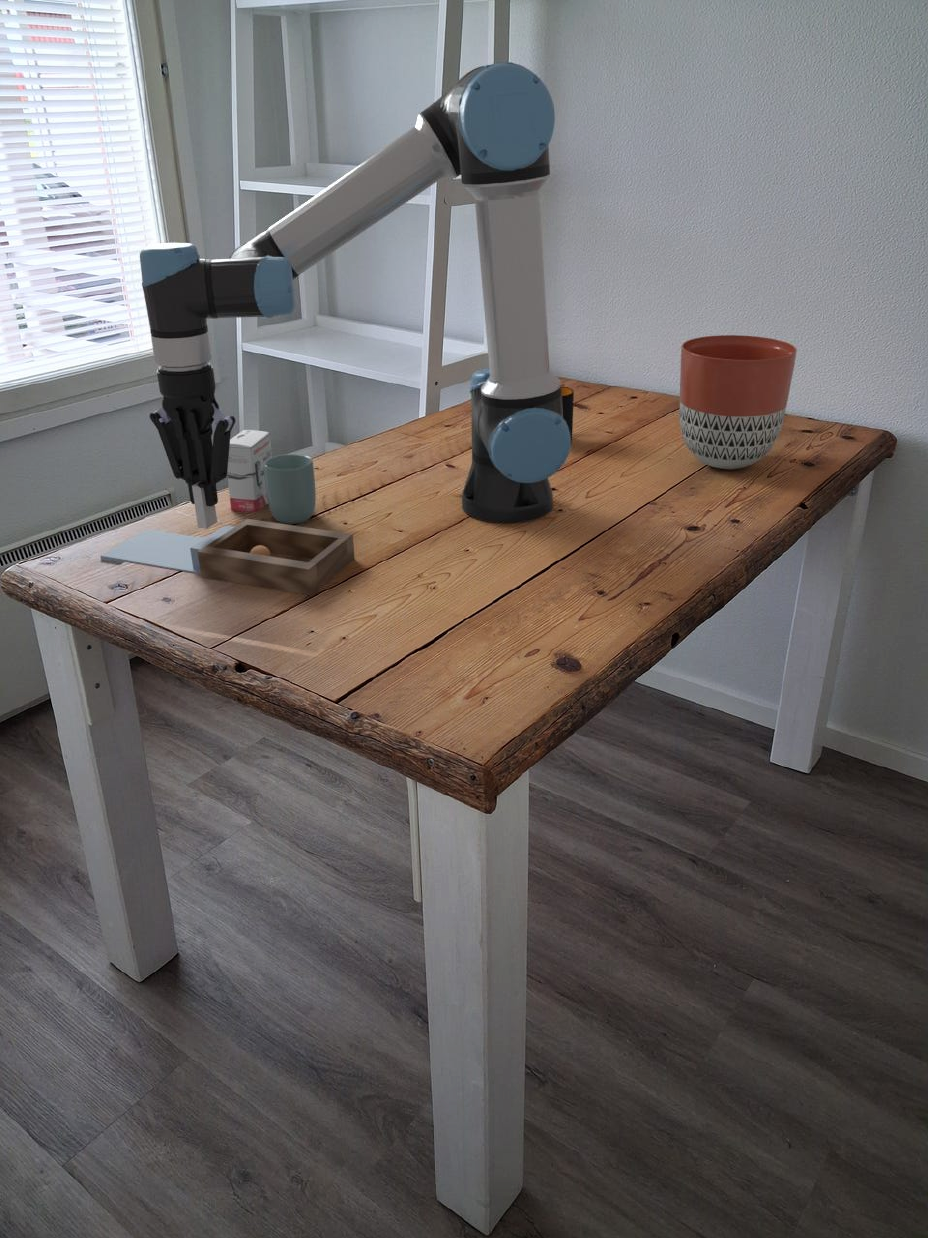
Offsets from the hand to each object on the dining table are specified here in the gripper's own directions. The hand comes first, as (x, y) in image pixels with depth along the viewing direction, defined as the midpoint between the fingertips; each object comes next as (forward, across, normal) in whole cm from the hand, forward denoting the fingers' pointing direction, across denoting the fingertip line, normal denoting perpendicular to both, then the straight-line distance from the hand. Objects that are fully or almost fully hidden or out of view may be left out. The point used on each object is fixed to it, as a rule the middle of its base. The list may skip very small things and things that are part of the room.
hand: (207, 524), depth 148 cm
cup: (+6, -4, -18) cm, 19 cm away
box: (+6, -12, 0) cm, 13 cm away
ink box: (+6, +6, -22) cm, 24 cm away
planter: (+6, -66, -68) cm, 95 cm away
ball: (+5, -8, 0) cm, 10 cm away
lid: (+6, +7, 0) cm, 10 cm away
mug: (+6, -32, -72) cm, 79 cm away
